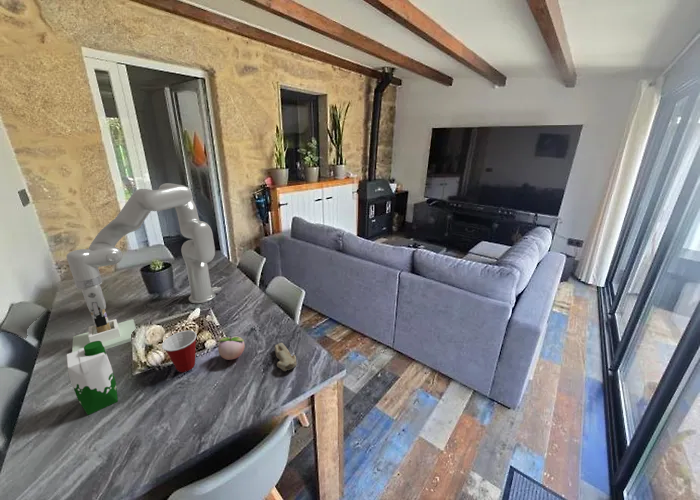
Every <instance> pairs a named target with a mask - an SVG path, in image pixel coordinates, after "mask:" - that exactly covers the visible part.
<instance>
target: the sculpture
mask: <svg viewBox="0 0 700 500" xmlns="http://www.w3.org/2000/svg"><path fill="white" fill-rule="evenodd" d="M274 351H275V352H274V353H275V357H276V358H277V359H278V360H279V361H277V363H276V366H277V368H279V369H281V370H282V371H283V372H287V371H286V370H288V371H289V370H292V369H294V368H295V367H297V366H298V365H297V357H296V355H295V354H293V355H292V354H291V352H290V351H289V349H288V348H287V346H286V345H285V344H284V343H283V342H279V343H277V344H275V345H274Z"/></svg>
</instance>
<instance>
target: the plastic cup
mask: <svg viewBox="0 0 700 500" xmlns="http://www.w3.org/2000/svg"><path fill="white" fill-rule="evenodd" d="M196 339H197V332H195V331H194V330H190V329H189V330H182V331H179V332H175V333H174V334H171V335H170V336H168V337H166V339H164V341H163V342H162V344H161V349H163V350H164V351H165V352H166V353H167V354H168V357H169V358H170V360H171V362H172V364H173V365H174V367H175V369H176V371H177V372H179V373H185V372H189V371H190V370H192V369H193V368H195V365H196V345H197V342H196V341H197V340H196Z"/></svg>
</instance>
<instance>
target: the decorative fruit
mask: <svg viewBox="0 0 700 500" xmlns="http://www.w3.org/2000/svg"><path fill="white" fill-rule="evenodd" d="M217 342H219V344H218V348H217V349H218V350H217V351H218V353H219V356H220V357H221V358H222V359H224V360H229V361H231V360H235V359H237V358H238V359H239V357H240V356H241V355H242V354H243V353H244V351H245V345H246V344H245V340H244V338H243V337H240V336H237V335H235V336H232V337H231V335H229V336H228V337H226V336H225V337H222V338H220V339H219V340H217Z"/></svg>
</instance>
